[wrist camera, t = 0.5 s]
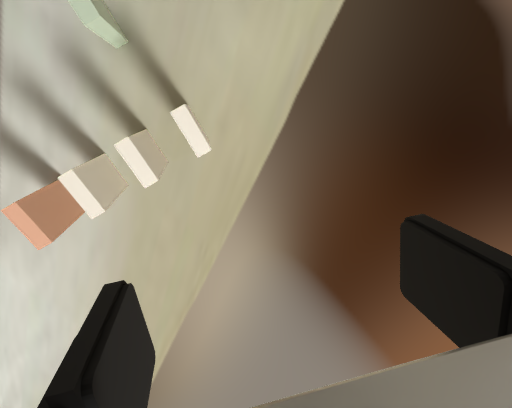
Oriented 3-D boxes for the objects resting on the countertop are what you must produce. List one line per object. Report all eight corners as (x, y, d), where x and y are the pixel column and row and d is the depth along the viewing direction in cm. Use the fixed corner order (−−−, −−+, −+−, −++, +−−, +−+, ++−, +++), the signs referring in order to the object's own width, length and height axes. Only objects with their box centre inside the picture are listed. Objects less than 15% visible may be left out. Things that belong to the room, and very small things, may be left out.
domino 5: (188, 104, 39) (184, 103, 29) (208, 139, 41) (211, 149, 31) (177, 111, 39) (169, 112, 29) (198, 145, 41) (197, 157, 31)
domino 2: (101, -2, 34) (59, -49, 24) (128, 41, 36) (100, 15, 26) (89, 5, 34) (41, -39, 24) (117, 48, 36) (83, 25, 26)
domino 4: (146, 128, 39) (128, 136, 29) (168, 162, 41) (158, 180, 31) (135, 135, 39) (113, 144, 29) (158, 168, 41) (144, 188, 31)
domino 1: (63, 177, 39) (15, 202, 29) (89, 208, 41) (52, 242, 31) (52, 183, 39) (0, 210, 29) (78, 214, 41) (38, 250, 31)
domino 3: (105, 152, 39) (71, 169, 29) (128, 185, 41) (105, 211, 31) (94, 159, 39) (57, 177, 29) (118, 191, 41) (91, 219, 31)
